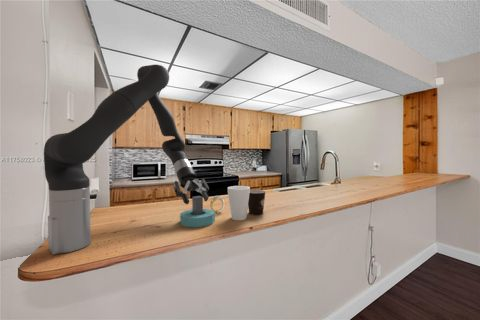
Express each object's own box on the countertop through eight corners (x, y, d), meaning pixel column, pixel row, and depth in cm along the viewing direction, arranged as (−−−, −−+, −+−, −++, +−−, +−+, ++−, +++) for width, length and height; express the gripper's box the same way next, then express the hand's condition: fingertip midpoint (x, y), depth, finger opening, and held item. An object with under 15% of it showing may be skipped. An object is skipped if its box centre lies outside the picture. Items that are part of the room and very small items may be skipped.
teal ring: (195, 229, 74) (194, 220, 74) (173, 222, 82) (173, 213, 82) (221, 220, 84) (221, 212, 84) (199, 214, 92) (199, 207, 92)
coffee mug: (253, 216, 89) (253, 193, 89) (243, 212, 96) (243, 190, 96) (274, 213, 94) (274, 191, 94) (263, 208, 102) (263, 188, 102)
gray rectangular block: (196, 223, 81) (195, 197, 81) (192, 221, 83) (192, 196, 83) (202, 221, 83) (202, 196, 83) (199, 219, 85) (198, 195, 85)
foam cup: (254, 218, 87) (254, 187, 87) (238, 223, 81) (238, 190, 81) (239, 213, 94) (239, 185, 94) (223, 217, 88) (223, 187, 88)
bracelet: (211, 214, 93) (211, 196, 93) (209, 212, 96) (209, 195, 95) (225, 212, 96) (225, 195, 96) (223, 210, 99) (223, 194, 98)
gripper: (171, 166, 84) (183, 198, 76) (201, 165, 94) (216, 193, 85) (166, 178, 89) (178, 209, 80) (196, 176, 98) (209, 204, 89)
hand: (197, 201), depth 83 cm, fingers open, 8 cm apart
